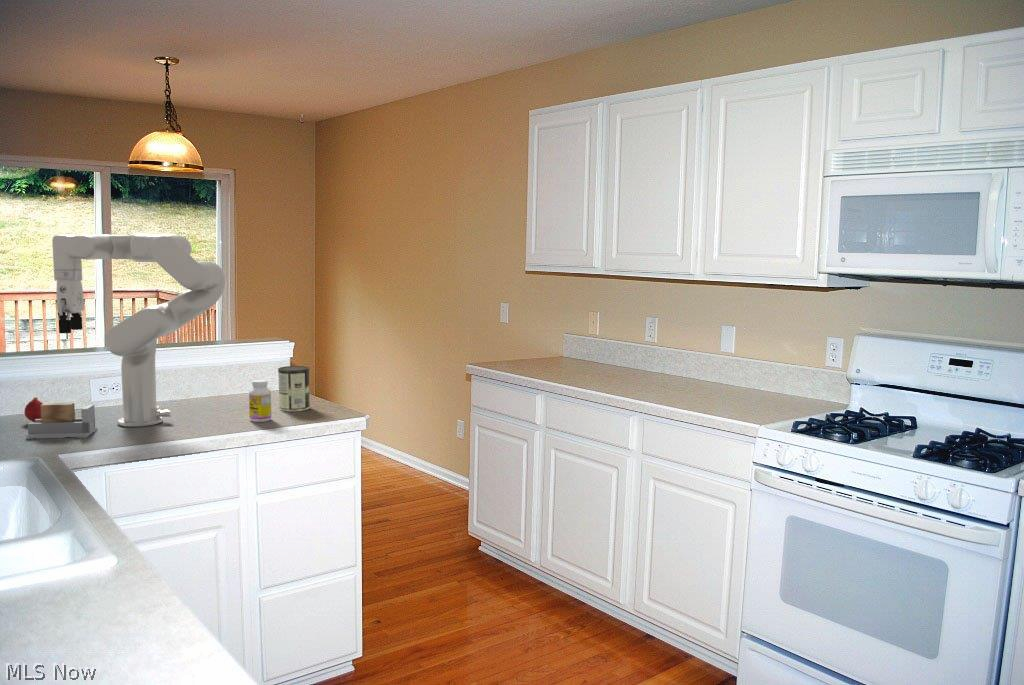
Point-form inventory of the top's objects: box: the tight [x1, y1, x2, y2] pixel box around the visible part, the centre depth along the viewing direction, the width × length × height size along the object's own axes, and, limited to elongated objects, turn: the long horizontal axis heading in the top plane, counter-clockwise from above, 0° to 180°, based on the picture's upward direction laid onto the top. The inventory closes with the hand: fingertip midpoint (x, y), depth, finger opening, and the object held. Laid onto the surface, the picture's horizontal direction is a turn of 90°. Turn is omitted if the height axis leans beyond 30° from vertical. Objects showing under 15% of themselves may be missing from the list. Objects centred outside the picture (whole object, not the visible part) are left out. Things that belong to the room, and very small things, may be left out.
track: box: [25, 404, 98, 440], centre depth 233 cm, size 16×9×8 cm, turn 100°
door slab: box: [41, 402, 76, 423], centre depth 233 cm, size 8×3×8 cm, turn 101°
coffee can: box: [277, 365, 311, 413], centre depth 273 cm, size 10×10×14 cm
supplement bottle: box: [248, 379, 272, 423], centre depth 255 cm, size 7×7×13 cm
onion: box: [23, 396, 44, 423], centre depth 246 cm, size 6×6×8 cm
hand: (71, 331), depth 246 cm, fingers open, 9 cm apart
